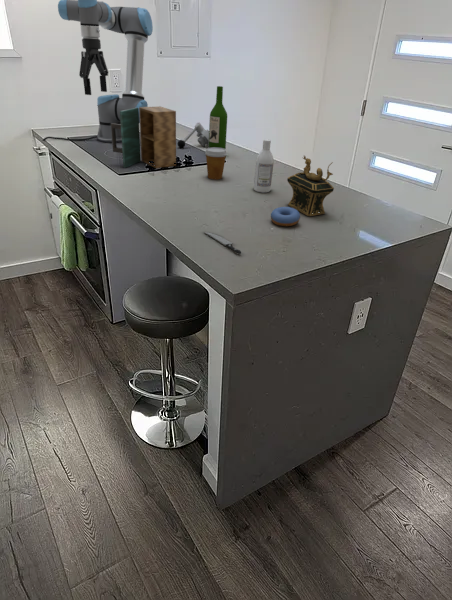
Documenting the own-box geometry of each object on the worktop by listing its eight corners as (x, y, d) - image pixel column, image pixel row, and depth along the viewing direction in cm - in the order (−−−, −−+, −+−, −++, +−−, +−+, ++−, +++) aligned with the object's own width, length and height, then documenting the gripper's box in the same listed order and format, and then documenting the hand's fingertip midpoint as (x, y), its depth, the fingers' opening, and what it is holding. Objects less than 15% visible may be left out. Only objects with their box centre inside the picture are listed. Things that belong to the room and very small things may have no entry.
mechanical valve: (218, 142, 240) (202, 120, 230) (197, 165, 239) (180, 145, 229) (209, 140, 248) (194, 119, 238) (189, 162, 247) (172, 142, 237)
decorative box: (282, 203, 165) (289, 150, 155) (302, 201, 169) (310, 149, 159) (314, 222, 151) (324, 164, 140) (336, 218, 155) (347, 162, 144)
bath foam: (273, 192, 177) (279, 141, 167) (258, 193, 175) (263, 142, 164) (265, 187, 183) (270, 137, 172) (250, 188, 180) (255, 138, 169)
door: (111, 165, 197) (106, 109, 185) (127, 159, 209) (124, 106, 196) (125, 167, 195) (121, 111, 183) (140, 161, 207) (138, 107, 194)
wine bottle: (205, 155, 224) (207, 86, 207) (212, 152, 232) (215, 85, 215) (221, 158, 222) (224, 88, 205) (227, 154, 229) (231, 86, 212)
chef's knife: (211, 231, 138) (203, 232, 137) (211, 228, 138) (203, 229, 136) (247, 253, 125) (238, 255, 124) (247, 250, 125) (239, 251, 123)
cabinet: (155, 168, 198) (153, 112, 185) (141, 161, 207) (138, 107, 195) (176, 165, 204) (175, 111, 191) (161, 159, 213) (160, 106, 201)
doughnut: (279, 229, 143) (280, 216, 140) (264, 219, 150) (266, 206, 148) (304, 226, 146) (306, 213, 144) (289, 216, 154) (291, 204, 152)
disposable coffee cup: (229, 176, 193) (230, 149, 186) (219, 182, 185) (221, 153, 179) (210, 173, 196) (211, 146, 190) (200, 178, 188) (201, 149, 182)
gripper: (82, 38, 172) (88, 96, 183) (113, 38, 192) (117, 91, 204) (66, 37, 174) (73, 95, 185) (98, 37, 194) (102, 89, 205)
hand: (96, 93), depth 194 cm, fingers open, 13 cm apart
